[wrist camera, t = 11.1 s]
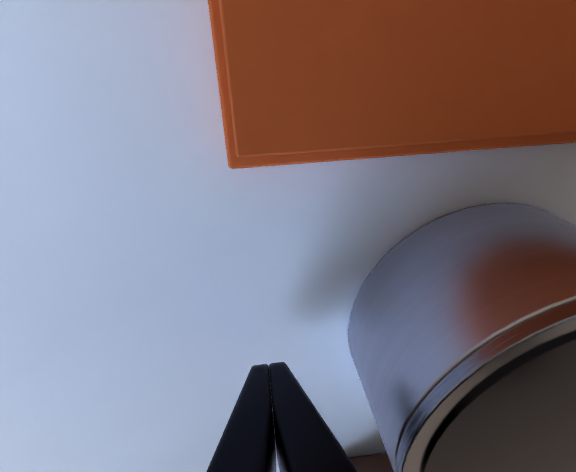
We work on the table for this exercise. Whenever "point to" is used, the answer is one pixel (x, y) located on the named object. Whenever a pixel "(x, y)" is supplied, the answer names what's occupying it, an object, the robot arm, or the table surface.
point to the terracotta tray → (391, 77)
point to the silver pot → (473, 343)
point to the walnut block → (372, 463)
